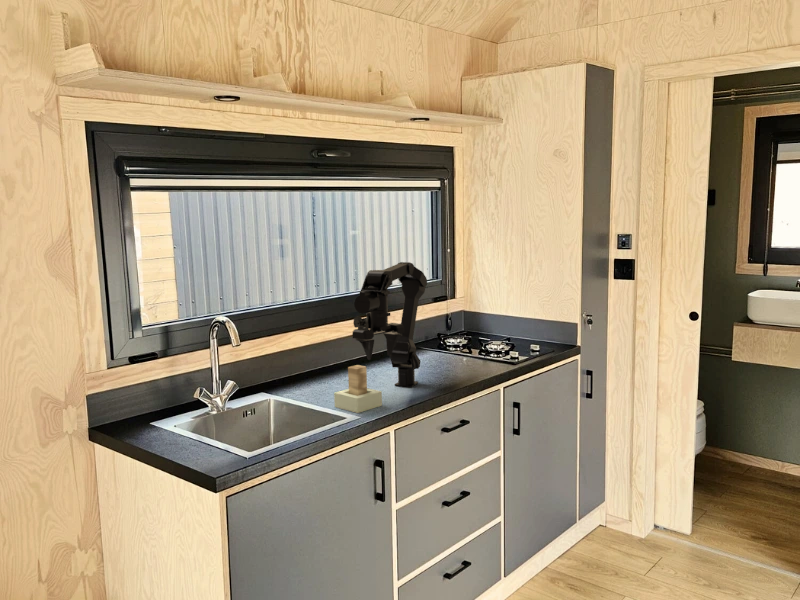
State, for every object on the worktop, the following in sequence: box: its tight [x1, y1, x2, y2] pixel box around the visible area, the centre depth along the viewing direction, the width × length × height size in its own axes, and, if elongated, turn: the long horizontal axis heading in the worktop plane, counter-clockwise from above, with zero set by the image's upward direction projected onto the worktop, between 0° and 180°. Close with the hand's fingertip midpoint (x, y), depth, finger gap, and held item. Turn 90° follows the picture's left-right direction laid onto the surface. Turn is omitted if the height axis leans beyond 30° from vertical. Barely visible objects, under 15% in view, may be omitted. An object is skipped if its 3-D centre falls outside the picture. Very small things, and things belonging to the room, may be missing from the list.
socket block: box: [333, 387, 383, 414], centre depth 222 cm, size 10×10×4 cm
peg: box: [347, 364, 368, 396], centre depth 221 cm, size 4×4×12 cm
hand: (379, 357), depth 230 cm, fingers open, 9 cm apart
